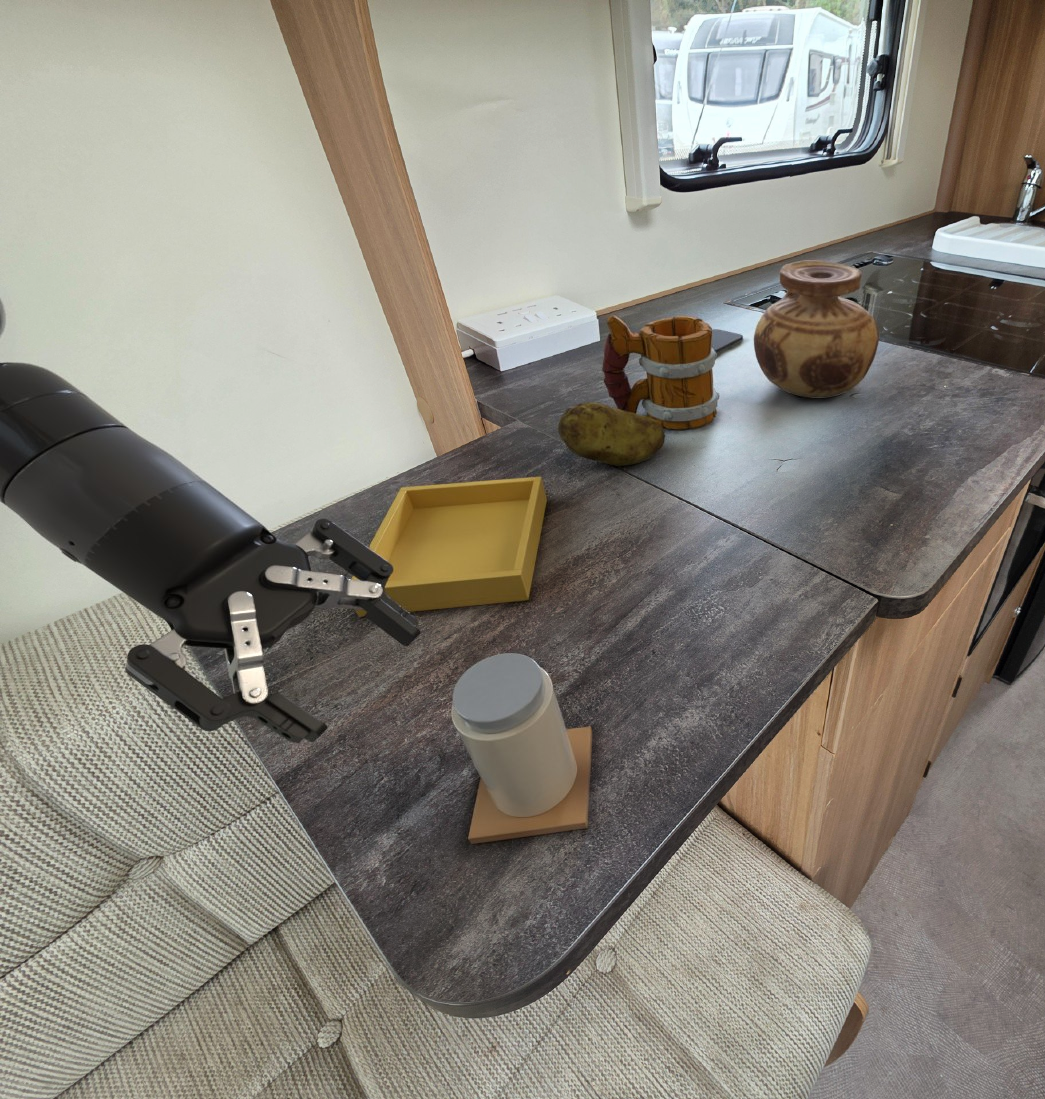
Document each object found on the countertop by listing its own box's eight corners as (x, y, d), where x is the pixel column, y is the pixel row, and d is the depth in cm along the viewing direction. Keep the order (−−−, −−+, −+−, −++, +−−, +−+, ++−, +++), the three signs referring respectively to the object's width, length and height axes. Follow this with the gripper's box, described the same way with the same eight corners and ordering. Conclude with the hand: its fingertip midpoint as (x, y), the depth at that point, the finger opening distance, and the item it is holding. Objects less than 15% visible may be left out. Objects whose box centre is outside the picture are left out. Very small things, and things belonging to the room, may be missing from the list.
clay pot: (910, 380, 90) (886, 252, 77) (804, 441, 91) (760, 324, 77) (850, 338, 104) (820, 223, 91) (758, 390, 105) (714, 284, 91)
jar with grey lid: (558, 823, 40) (523, 734, 33) (474, 811, 40) (424, 721, 34) (588, 745, 44) (563, 653, 38) (512, 735, 45) (475, 643, 39)
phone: (745, 335, 113) (697, 359, 103) (745, 339, 113) (698, 364, 104) (714, 328, 116) (664, 350, 106) (714, 332, 117) (665, 355, 107)
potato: (664, 475, 75) (658, 417, 70) (562, 478, 75) (549, 420, 70) (667, 443, 82) (662, 388, 77) (573, 446, 82) (562, 390, 77)
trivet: (587, 828, 40) (585, 822, 40) (471, 844, 39) (467, 838, 39) (592, 732, 46) (590, 726, 46) (491, 744, 45) (488, 738, 45)
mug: (726, 426, 86) (725, 320, 76) (611, 439, 83) (595, 330, 74) (713, 395, 94) (710, 296, 84) (608, 406, 91) (592, 304, 82)
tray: (528, 600, 58) (520, 574, 56) (358, 617, 56) (344, 591, 54) (547, 499, 71) (541, 476, 69) (411, 511, 70) (400, 487, 68)
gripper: (1, 568, 29) (296, 762, 33) (261, 434, 39) (458, 595, 44) (12, 622, 33) (270, 786, 38) (242, 489, 44) (423, 629, 49)
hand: (371, 683), depth 41 cm, fingers open, 8 cm apart
